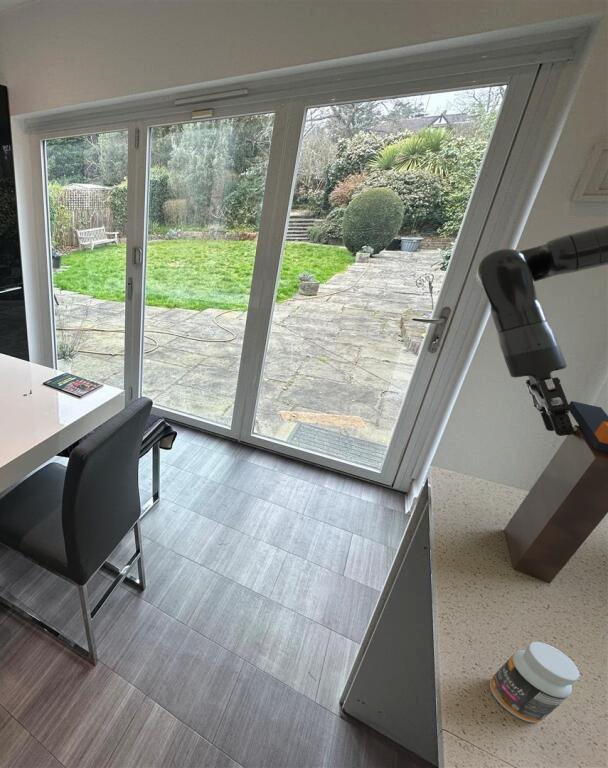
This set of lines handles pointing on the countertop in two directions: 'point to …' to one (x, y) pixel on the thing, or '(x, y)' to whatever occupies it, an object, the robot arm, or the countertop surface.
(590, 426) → the back pad
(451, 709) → the countertop surface
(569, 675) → the pill bottle
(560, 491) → the walnut stand
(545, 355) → the robot arm
